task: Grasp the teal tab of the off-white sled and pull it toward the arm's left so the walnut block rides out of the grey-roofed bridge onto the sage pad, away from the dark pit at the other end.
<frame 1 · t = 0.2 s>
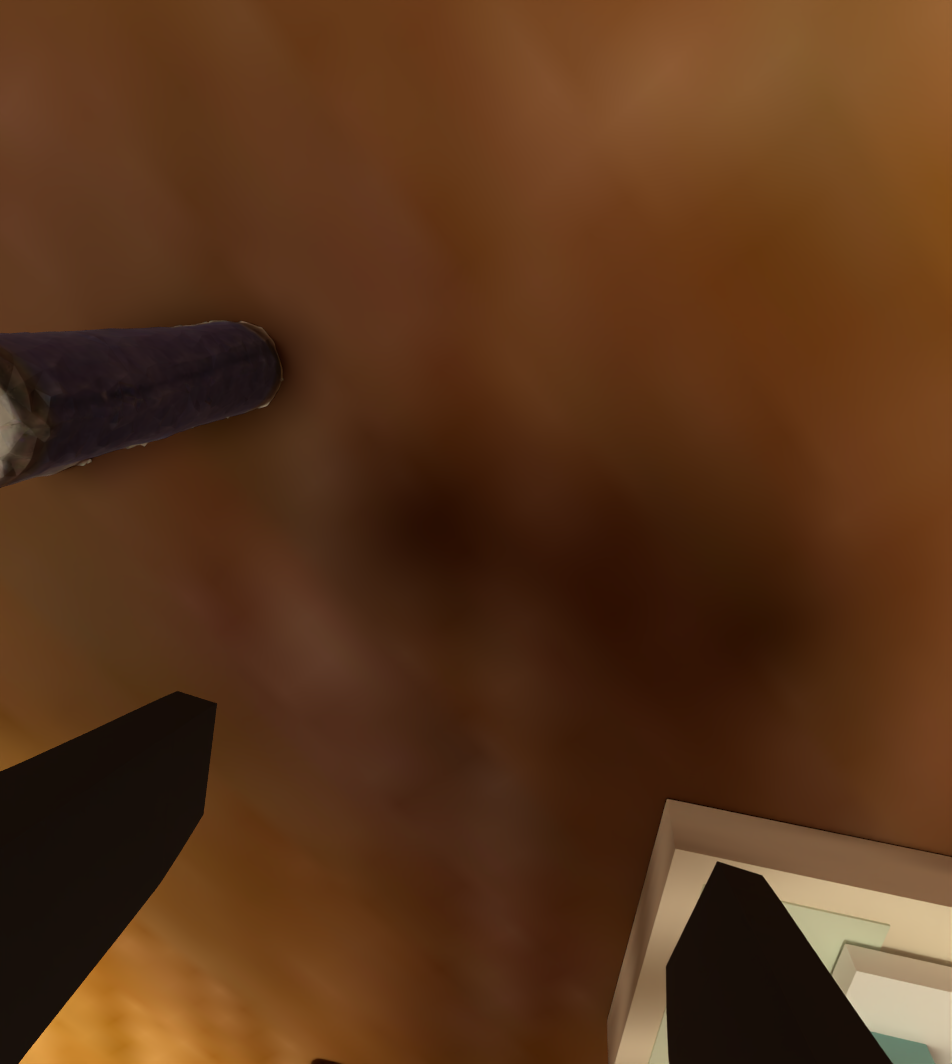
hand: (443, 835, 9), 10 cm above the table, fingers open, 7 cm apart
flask: (147, 395, 19), on the table
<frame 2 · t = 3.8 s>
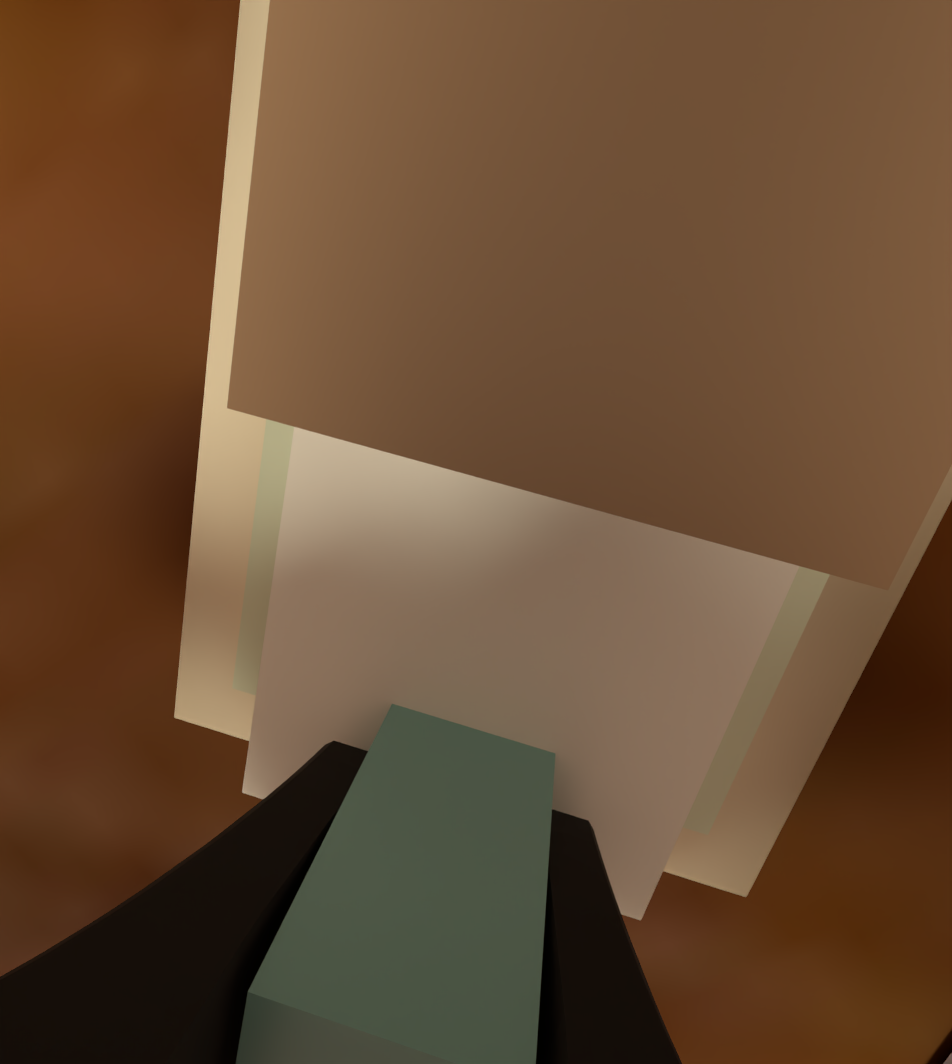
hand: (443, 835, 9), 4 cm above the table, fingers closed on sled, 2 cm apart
sled: (558, 432, 6), point 5 cm above the table, slide at 5.1 cm, touching gripper, walnut block
walnut block: (616, 226, 7), point 3 cm above the table, touching sled
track: (675, 10, 9), on the table
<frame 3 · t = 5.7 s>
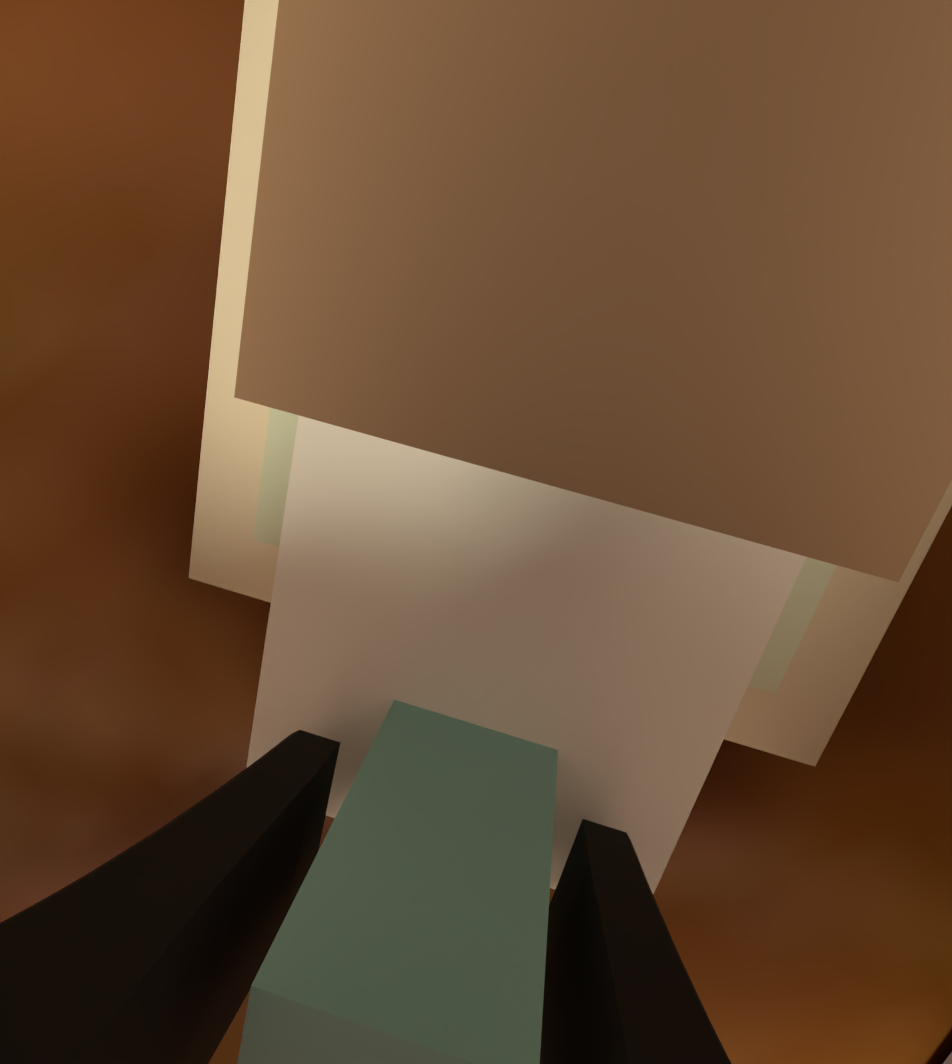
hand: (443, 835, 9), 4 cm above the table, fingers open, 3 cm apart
sled: (564, 426, 6), point 5 cm above the table, slide at 7.7 cm, touching walnut block
walnut block: (622, 220, 7), point 3 cm above the table, touching sled
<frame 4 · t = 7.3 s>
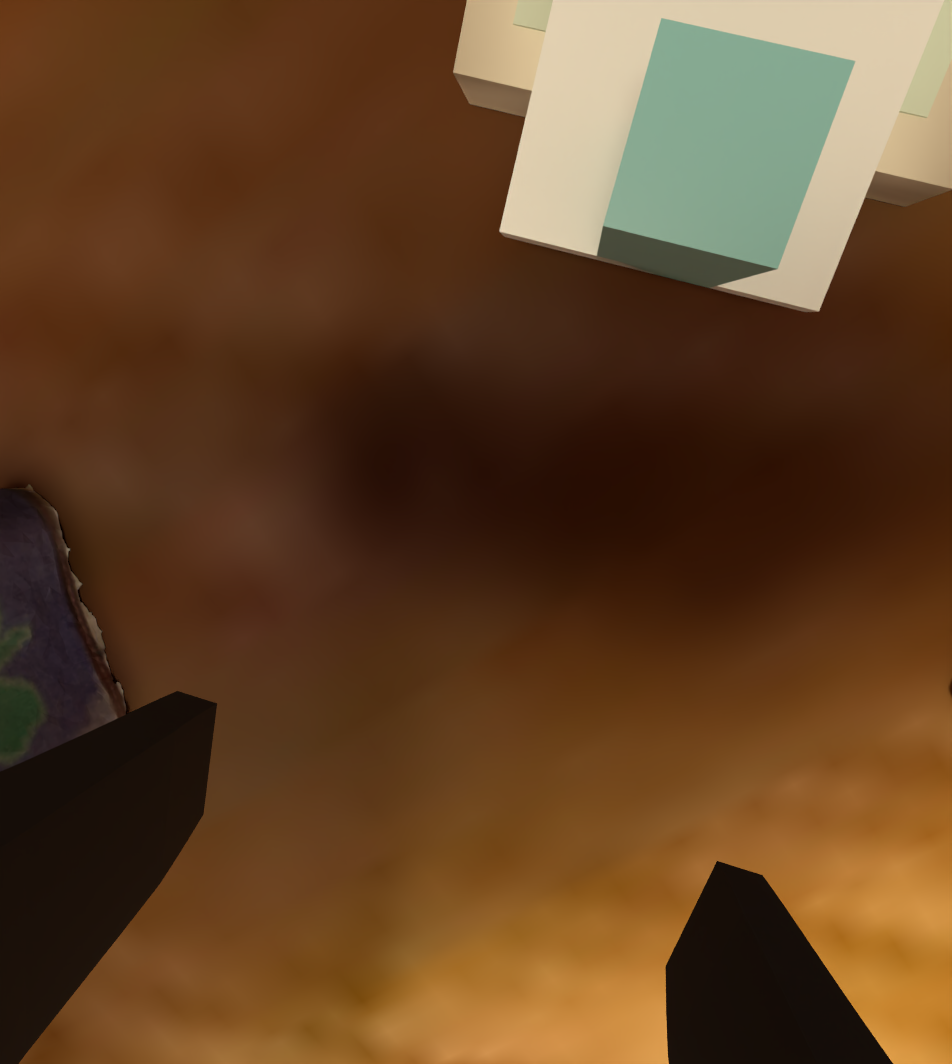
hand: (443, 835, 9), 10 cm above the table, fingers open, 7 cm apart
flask: (66, 615, 22), on the table
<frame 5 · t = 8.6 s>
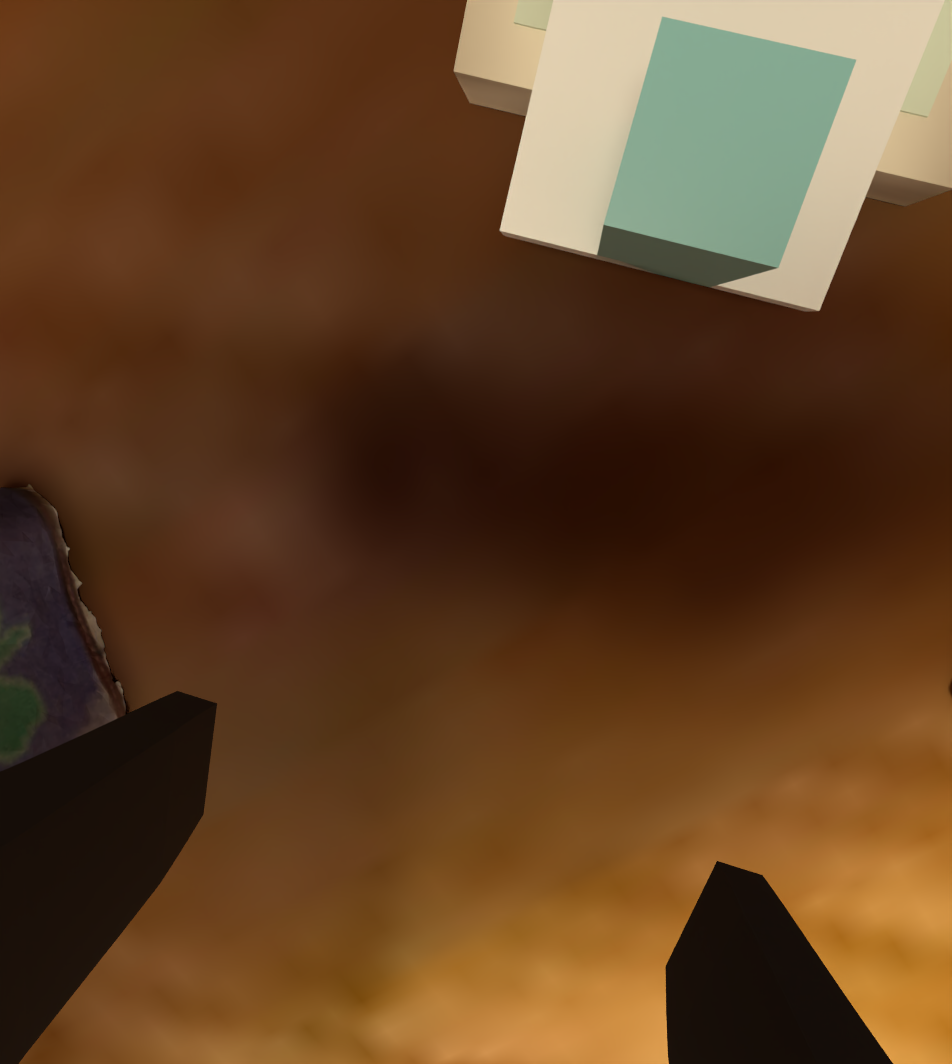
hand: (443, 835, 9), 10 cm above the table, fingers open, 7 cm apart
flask: (66, 614, 22), on the table
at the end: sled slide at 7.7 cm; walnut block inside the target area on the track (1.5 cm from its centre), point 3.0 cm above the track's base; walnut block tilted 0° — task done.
